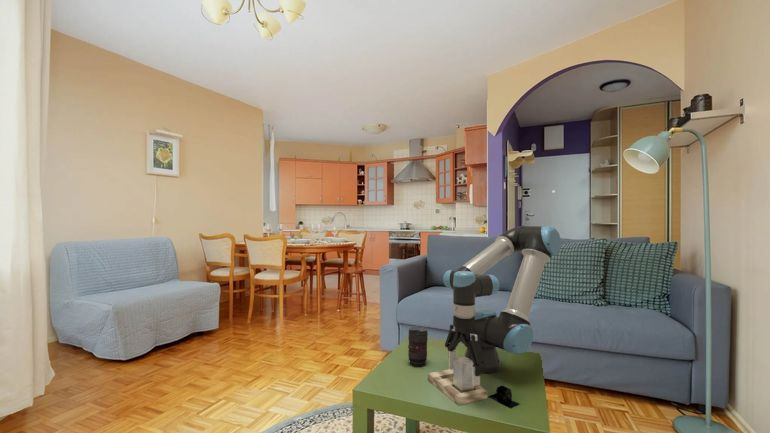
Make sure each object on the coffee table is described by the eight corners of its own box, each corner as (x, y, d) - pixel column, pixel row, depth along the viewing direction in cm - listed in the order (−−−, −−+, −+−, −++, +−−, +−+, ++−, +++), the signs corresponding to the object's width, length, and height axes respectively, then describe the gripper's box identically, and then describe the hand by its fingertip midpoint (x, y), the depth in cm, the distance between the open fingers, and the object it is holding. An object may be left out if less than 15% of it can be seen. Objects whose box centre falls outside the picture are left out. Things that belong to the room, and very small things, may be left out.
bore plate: (453, 374, 138) (453, 368, 138) (487, 398, 120) (487, 391, 120) (427, 380, 133) (427, 373, 133) (458, 405, 115) (458, 397, 115)
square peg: (464, 389, 126) (465, 356, 126) (473, 396, 121) (473, 361, 121) (453, 392, 124) (453, 358, 124) (461, 399, 119) (462, 363, 119)
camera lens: (426, 368, 144) (426, 332, 144) (407, 366, 145) (407, 330, 146) (428, 360, 152) (428, 326, 152) (409, 359, 153) (409, 325, 154)
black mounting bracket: (482, 397, 122) (482, 383, 122) (496, 391, 126) (496, 378, 126) (513, 413, 111) (513, 399, 111) (526, 406, 116) (527, 393, 116)
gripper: (436, 308, 133) (435, 364, 132) (478, 326, 110) (477, 394, 110) (452, 306, 136) (452, 361, 135) (496, 324, 113) (496, 390, 113)
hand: (463, 376), depth 122 cm, fingers open, 13 cm apart
